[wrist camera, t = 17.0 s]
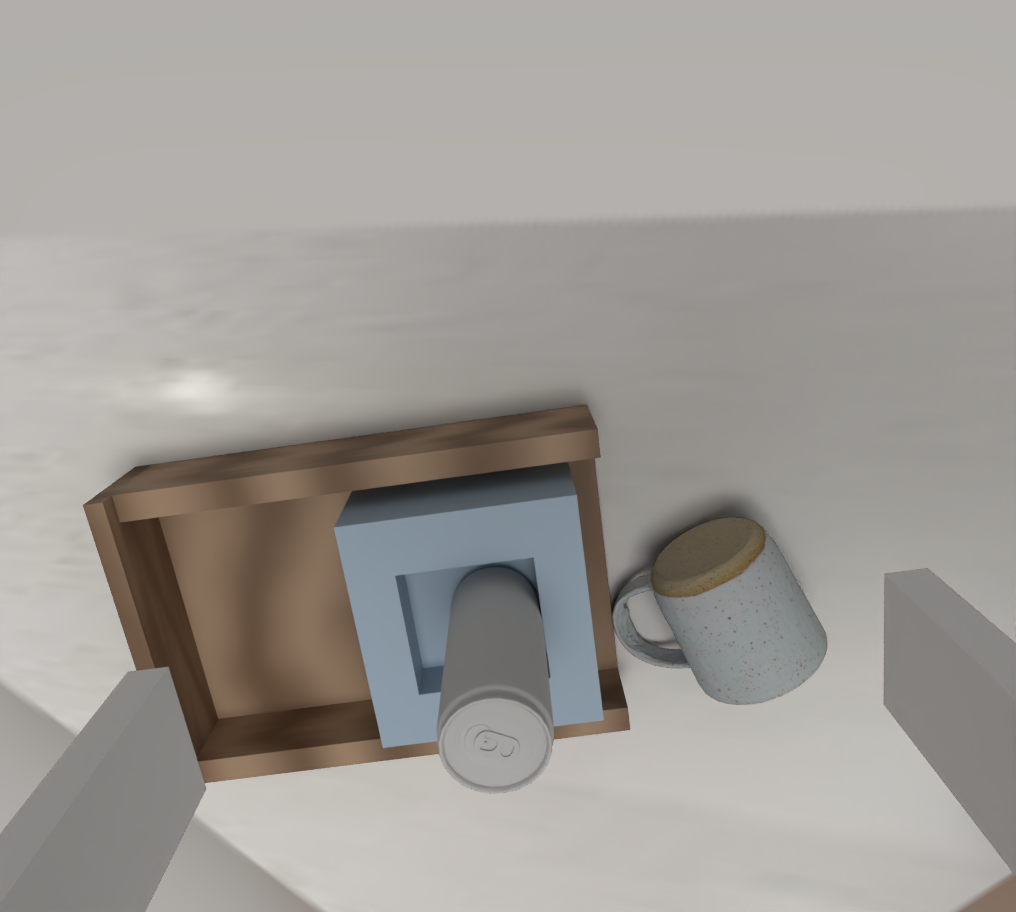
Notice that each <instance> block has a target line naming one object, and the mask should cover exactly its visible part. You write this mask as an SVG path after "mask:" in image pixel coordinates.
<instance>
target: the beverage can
mask: <svg viewBox="0 0 1016 912" xmlns="http://www.w3.org/2000/svg"><path fill="white" fill-rule="evenodd" d="M553 741H554V722H553V713H552V704H551V695H550V685H549V676H548V667H547V657H546V648H545V639H544V631H543V622H542V614H541V606H540V601H539V598H538V595H537V593H536V591H535V590H534V588H533V587H532V585H531V584H530V583H529V582H528V581H527V580H526V579H525V578H524V577H523V576H522V575H520V574H518V573H517V572H515V571H513V570H511V569H507V568H502V567H488V568H485V569H481V570H478V571H476V572H474V573H472V574H470V575H469V576H467V577H466V578H465V579H464V580H463V581H462V582H461V583H460V584H459V585H458V587H457V589H456V590H455V592H454V594H453V598H452V602H451V609H450V618H449V626H448V635H447V643H446V652H445V661H444V669H443V678H442V687H441V695H440V704H439V712H438V721H437V744H438V747H439V755H440V758H441V760H442V763H443V765H444V767H445V769H446V770H447V771H448V772H449V774H450V775H451V776H452V777H453V778H454V779H455V780H457V781H458V782H459V783H461V784H462V785H463V786H466V787H468V788H470V789H473V790H475V791H479V792H484V793H490V794H491V793H507V792H511V791H514V790H518V789H520V788H522V787H524V786H526V785H528V784H530V783H532V782H533V781H534V780H535V779H536V778H537V777H538V776H539V775H541V773H542V772H543V770H544V769H545V767H546V766H547V764H548V762H549V759H550V756H551V752H552V745H553Z"/></svg>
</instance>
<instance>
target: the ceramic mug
mask: <svg viewBox="0 0 1016 912" xmlns="http://www.w3.org/2000/svg"><path fill="white" fill-rule="evenodd" d="M648 590H653V591H654V595H655V598H656V600H657V603H658V605H659V607H660V609H661V611H662V613H663V615H664V617H665V619H666V621H667V622H668V624H669V626H670V627H671V629H672V631H673V632H674V635H675V637H676V639H677V641H678V643H679V645H680V647H681V649H677V650H675V649H666V648H661V647H658V646H655V645H652V644H650V643H648V642H646V641H644V640H643V639H642V638H641V637H640V636H639V635H638V634H637V633H636V631H635V629H634V626H633V624H632V622H631V620H630V617H629V609H628V608H627V607H626V605H625V604H624V603H625V602H626V601H627V600H628V599H629V598H630V597H632V596H634V595H637V594H639V593H641V592H645V591H648ZM612 620H613V626H614V629H615V632H616V634H617V636H618V638H619V640H620V642H621V643H622V645H623V646H624V647H625V648H626V649H627V650H628V651H629V652H630V653H631V654H632V655H634V656H635V657H637V658H638V659H640V660H642V661H644V662H647V663H650V664H653V665H656V666H660V667H666V668H691V669H692V671H693V673H694V675H695V677H696V679H697V681H698V683H699V685H700V686H701V688H702V689H703V690H704V692H705V693H706V694H707V695H708V696H710V697H711V698H713V699H715V700H717V701H719V702H723V703H726V704H734V705H747V704H757V703H762V702H765V701H769V700H772V699H775V698H777V697H780V696H782V695H784V694H786V693H789V692H790V691H792V690H793V689H795V688H797V687H799V686H800V685H801V684H802V683H804V682H805V681H806V680H807V679H808V678H810V677H811V676H812V675H813V674H814V673H815V671H816V670H817V669H818V668H819V666H820V664H821V663H822V661H823V659H824V657H825V654H826V651H827V636H826V632H825V630H824V628H823V627H822V625H821V623H820V621H819V620H818V618H817V616H816V614H815V613H814V611H813V609H812V607H811V605H810V603H809V601H808V600H807V598H806V596H805V594H804V592H803V591H802V589H801V587H800V586H799V584H798V582H797V581H796V579H795V577H794V575H793V574H792V572H791V570H790V568H789V566H788V564H787V562H786V560H785V558H784V556H783V555H782V553H781V551H780V549H779V548H778V546H777V544H776V543H775V542H774V540H773V539H772V538H771V537H770V536H769V534H768V533H767V532H766V531H765V529H764V528H763V527H761V526H760V525H759V524H758V523H756V522H755V521H753V520H748V519H744V518H736V517H731V518H721V519H716V520H712V521H709V522H706V523H704V524H701V525H698V526H696V527H694V528H692V529H690V530H688V531H687V532H685V533H683V534H682V535H680V536H679V537H677V538H676V539H674V540H673V541H672V542H671V543H669V544H668V545H667V546H666V547H665V548H664V549H663V550H662V552H661V553H660V554H659V556H658V557H657V559H656V561H655V563H654V565H653V568H652V571H651V574H647V575H643V576H640V577H638V578H636V579H634V580H633V581H631V582H629V583H628V584H627V585H626V586H625V587H624V588H623V589H622V590H621V592H620V593H619V595H618V597H617V600H616V603H615V605H614V608H613V615H612Z"/></svg>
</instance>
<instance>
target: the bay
mask: <svg viewBox="0 0 1016 912" xmlns="http://www.w3.org/2000/svg"><path fill="white" fill-rule="evenodd" d="M599 457H600V448H599V439H598V429H597V427H596V425H595V422H594V420H593V418H592V416H591V413H590V411H589V409H588V406H587V405H582V406H575V407H568V408H561V409H553V410H546V411H539V412H532V413H524V414H517V415H510V416H503V417H495V418H488V419H481V420H474V421H466V422H459V423H452V424H445V425H437V426H430V427H423V428H416V429H408V430H401V431H394V432H387V433H379V434H372V435H365V436H358V437H350V438H343V439H336V440H329V441H321V442H314V443H307V444H300V445H292V446H285V447H278V448H271V449H263V450H256V451H249V452H242V453H234V454H227V455H220V456H213V457H205V458H198V459H191V460H184V461H176V462H169V463H162V464H155V465H147V466H140V467H135V468H133V469H132V470H131V471H129V472H128V473H126V474H125V475H124V476H122V477H121V478H120V479H118V480H117V481H116V482H114V483H113V484H111V485H110V486H109V487H107V488H106V489H105V490H103V491H102V492H100V493H99V494H98V495H96V496H95V497H94V498H92V499H91V500H90V501H88V502H87V503H85V504H84V505H83V507H84V510H85V513H86V516H87V519H88V522H89V526H90V529H91V532H92V535H93V538H94V541H95V544H96V547H97V550H98V553H99V556H100V559H101V563H102V566H103V569H104V572H105V575H106V578H107V581H108V584H109V587H110V590H111V593H112V596H113V599H114V603H115V606H116V609H117V612H118V615H119V618H120V621H121V624H122V627H123V630H124V633H125V636H126V639H127V643H128V646H129V649H130V652H131V655H132V658H133V661H134V664H135V667H136V670H137V671H139V670H147V669H154V668H162V667H169V670H170V673H171V677H172V680H173V683H174V686H175V690H176V693H177V696H178V699H179V703H180V706H181V709H182V712H183V715H184V719H185V722H186V725H187V728H188V732H189V735H190V738H191V741H192V744H193V748H194V751H195V754H196V757H197V761H198V764H199V767H200V770H201V773H202V777H203V780H204V783H209V782H217V781H225V780H233V779H241V778H249V777H257V776H265V775H273V774H281V773H289V772H297V771H305V770H313V769H321V768H329V767H337V766H345V765H353V764H361V763H369V762H377V761H385V760H393V759H401V758H409V757H417V756H425V755H433V754H439V747H438V744H437V741H435V742H427V743H419V744H411V745H403V746H395V747H387V748H383V746H382V742H381V737H380V733H379V728H378V724H377V719H376V715H375V710H374V706H373V701H372V697H371V692H370V688H369V683H368V679H367V674H366V670H365V666H364V661H363V657H362V652H361V648H360V643H359V639H358V634H357V630H356V625H355V621H354V616H353V612H352V607H351V603H350V598H349V594H348V589H347V585H346V580H345V576H344V571H343V567H342V563H341V558H340V554H339V549H338V545H337V540H336V536H335V531H334V526H335V524H336V522H337V520H338V518H339V516H340V514H341V512H342V510H343V508H344V506H345V504H346V502H347V500H348V498H349V496H350V494H351V492H352V491H356V490H363V489H371V488H378V487H385V486H393V485H400V484H407V483H415V482H422V481H430V480H437V479H444V478H452V477H459V476H466V475H474V474H481V473H488V472H496V471H503V470H511V469H518V468H525V467H533V466H540V465H547V464H555V463H562V462H568V464H569V468H570V472H571V475H572V479H573V483H574V486H575V490H576V494H577V501H578V509H579V518H580V526H581V534H582V543H583V551H584V559H585V567H586V576H587V584H588V592H589V601H590V609H591V617H592V626H593V634H594V642H595V651H596V659H597V667H598V676H599V684H600V692H601V700H602V709H603V717H604V720H602V721H594V722H586V723H578V724H570V725H562V726H554V739H561V738H569V737H577V736H585V735H593V734H601V733H609V732H617V731H625V730H630V724H629V714H628V707H627V703H626V699H625V695H624V691H623V687H622V683H621V679H620V675H619V672H618V667H617V658H616V649H615V640H614V631H613V622H612V613H611V604H610V595H609V586H608V577H607V568H606V559H605V550H604V541H603V533H602V524H601V515H600V506H599V497H598V488H597V479H596V470H595V461H594V458H599Z"/></svg>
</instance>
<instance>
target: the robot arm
mask: <svg viewBox="0 0 1016 912" xmlns="http://www.w3.org/2000/svg"><path fill="white" fill-rule="evenodd" d="M884 705H885V707H886V708H887V709H888V710H889V712H890V713H891V714H892V716H893V717H894V718H895V720H896V721H897V722H898V724H899V725H900V726H901V727H902V729H903V730H904V731H905V733H906V734H907V735H908V737H909V738H910V739H911V740H912V742H913V743H914V744H915V746H916V747H917V748H918V750H919V751H920V752H921V753H922V755H923V756H924V757H925V759H926V760H927V761H928V763H929V764H930V765H931V766H932V768H933V769H934V770H935V772H936V773H937V774H938V776H939V777H940V778H941V779H942V781H943V782H944V783H945V785H946V786H947V787H948V789H949V790H950V791H951V792H952V794H953V795H954V796H955V798H956V799H957V800H958V802H959V803H960V804H961V805H962V807H963V808H964V809H965V811H966V812H967V813H968V815H969V816H970V817H971V819H972V820H973V821H974V822H975V824H976V825H977V826H978V828H979V829H980V830H981V832H982V833H983V834H984V835H985V837H986V838H987V839H988V841H989V842H990V843H991V845H992V846H993V847H994V848H995V850H996V851H997V852H998V854H999V855H1000V856H1001V858H1002V859H1003V860H1004V861H1005V863H1006V864H1007V865H1008V867H1009V868H1010V869H1011V871H1012V872H1013V873H1014V874H1015V876H1016V643H1015V642H1014V641H1013V640H1011V639H1010V638H1009V637H1008V636H1007V635H1006V634H1004V633H1003V632H1002V631H1001V630H1000V629H999V628H997V627H996V626H995V625H994V624H993V623H991V622H990V621H989V620H988V619H987V618H986V617H984V616H983V615H982V614H981V613H980V612H979V611H977V610H976V609H975V608H974V607H973V606H972V605H970V604H969V603H968V602H967V601H966V600H964V599H963V598H962V597H961V596H960V595H959V594H957V593H956V592H955V591H954V590H953V589H952V588H950V587H949V586H948V585H947V584H946V583H945V582H943V581H942V580H941V579H940V578H939V577H937V576H936V575H935V574H934V573H933V572H932V571H930V570H929V569H928V568H925V569H917V570H909V571H901V572H894V573H886V574H885V582H884ZM205 790H206V786H205V783H204V780H203V777H202V773H201V770H200V767H199V764H198V761H197V757H196V754H195V751H194V748H193V744H192V741H191V738H190V735H189V732H188V728H187V725H186V722H185V719H184V715H183V712H182V709H181V706H180V703H179V699H178V696H177V693H176V690H175V686H174V683H173V680H172V677H171V673H170V670H169V667H162V668H154V669H147V670H139V671H131V672H127V674H126V675H125V676H124V677H123V679H122V680H121V681H120V682H119V684H118V685H117V686H116V688H115V689H114V690H113V691H112V693H111V694H110V695H109V696H108V698H107V699H106V700H105V702H104V703H103V704H102V705H101V707H100V708H99V709H98V710H97V712H96V713H95V714H94V715H93V717H92V718H91V719H90V721H89V722H88V723H87V724H86V726H85V727H84V728H83V729H82V731H81V732H80V733H79V735H78V736H77V737H76V738H75V740H74V741H73V742H72V743H71V745H70V746H69V747H68V749H67V750H66V751H65V752H64V754H63V755H62V756H61V758H60V759H59V760H58V761H57V762H56V764H55V765H54V766H53V768H52V769H51V770H50V771H49V773H48V774H47V775H46V776H45V778H44V779H43V780H42V781H41V783H40V784H39V785H38V787H37V788H36V789H35V790H34V792H33V793H32V794H31V795H30V797H29V798H28V799H27V801H26V802H25V803H24V805H23V806H22V807H21V808H20V810H19V811H18V812H17V813H16V815H15V816H14V817H13V818H12V820H11V821H10V822H9V823H8V825H7V826H6V827H5V828H4V830H3V831H2V832H1V834H0V912H145V911H146V909H147V907H148V905H149V903H150V901H151V899H152V897H153V895H154V893H155V891H156V889H157V887H158V885H159V883H160V881H161V879H162V877H163V875H164V873H165V871H166V869H167V867H168V865H169V863H170V860H171V859H172V857H173V855H174V853H175V851H176V849H177V847H178V845H179V843H180V841H181V838H182V837H183V835H184V832H185V831H186V829H187V827H188V824H189V822H190V821H191V819H192V817H193V815H194V812H195V810H196V808H197V806H198V804H199V802H200V800H201V798H202V796H203V794H204V792H205Z"/></svg>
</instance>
